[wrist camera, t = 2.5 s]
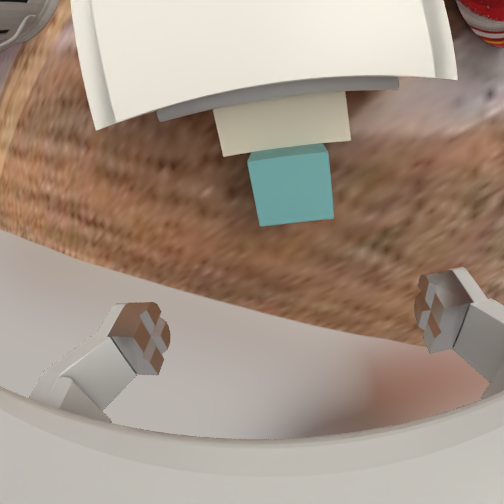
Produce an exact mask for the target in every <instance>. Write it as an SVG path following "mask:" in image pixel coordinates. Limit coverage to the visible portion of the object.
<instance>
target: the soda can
mask: <svg viewBox="0 0 504 504" xmlns="http://www.w3.org/2000/svg"><path fill="white" fill-rule="evenodd" d="M456 3H457V5H458V8H459V10H460V12H461V14H462V16H463V18H464V19H465V21H466V22H467V24H468V25H469V26H470V28H471V29H472V30H473V31H474V32H475V33H476V34H477V35H478V36H479V37H480V38H481V39H483V40H484V41H485V42H487V43H489V44H491V45H493V46H496V47H501V48H504V0H456Z"/></svg>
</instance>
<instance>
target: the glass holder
mask: <svg viewBox="0 0 504 504" xmlns="http://www.w3.org/2000/svg"><path fill="white" fill-rule="evenodd" d="M59 1H60V0H0V40H7V41H5V42H3V43H1V44H0V53H1V52H3V51H5V50H6V49H8V48H9V47H11V46H12V45H13V44H14V43H23V42H26V41H28V40H30V39H31V38H33V37H34V36H35V35H36V34H38V33H39V32H40V31H41V30H42V29H43V27H44V26H45V25H46V24H47V22H48V21H49V20H50V18H51V17H52V15H53V13H54V11H55V10H56V8H57V6H58V4H59Z"/></svg>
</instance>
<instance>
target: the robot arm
mask: <svg viewBox="0 0 504 504" xmlns="http://www.w3.org/2000/svg"><path fill="white" fill-rule="evenodd" d="M418 287H419V289H420V291H421V292H420V293H419V294H418V295H417V296H416V299H415V305H414V310H415V318H416V321H417V324H418V326H419V327H420V328H421V329H423V330H424V331H425V332H424V336H423V338H424V341H425V343H426V346H427V348H428V351H429V353H434V352H439V351H444V350H448V349H453V350H454V351H455V352H456V353H457V354H458V355H460V356H461V357H462V358H463V359H464V360H465V361H466V362H467V363H469V364H470V365H471V366H472V367H473V368H474V369H475V370H476V371H477V372H479V373H480V374H481V375H482V376H483V377H484V378H485V379H486V380H487V381H488V382H490V384H489V386H488V387H487V389H486V391H485V392H484V393H483V395H482V397H481V400H479V401H476V402H474V403H471V404H468V405H465V406H462V407H459V408H456V409H453V410H450V411H447V412H443V413H440V414H437V415H433V416H430V417H426V418H422V419H418V420H414V421H410V422H406V423H401V424H397V425H393V426H387V427H382V428H377V429H371V430H365V431H359V432H352V433H345V434H337V435H328V436H318V437H307V438H306V437H305V438H291V439H290V438H289V439H225V438H209V437H196V436H186V435H177V434H169V433H162V432H155V431H149V430H143V429H137V428H132V427H126V426H121V425H117V424H112V421H111V419H110V418H109V417H108V416H107V415H106V414H105V413H104V412H103V410H104V409H105V408H106V407H107V406H108V405H109V404H110V403H111V402H112V401H113V400H114V399H115V398H116V396H117V395H118V394H119V393H120V392H121V391H122V390H123V389H124V388H125V387H126V386H127V385H128V384H129V383H130V382H131V381H132V380H133V379H134V378H135V377H136V376H137V375H136V374H142V375H159V372H160V369H161V366H162V364H163V361H164V358H163V356H162V353H163V352H165V351H166V350H167V349H168V347H169V343H170V330H169V327H168V325H167V323H166V321H164V320H163V319H162V318H161V317H160V313H161V310H160V309H159V307H158V305H157V304H156V303H154V302H146V303H117V304H115V305H113V306H112V308H111V310H110V311H109V313H108V314H107V316H106V318H105V320H104V321H103V323H102V324H101V326H100V328H99V329H98V331H97V333H96V335H95V336H91V337H89V338H88V339H87V340H85V341H84V342H82V343H81V344H80V345H78V346H77V347H76V348H74V349H73V350H72V351H70V352H69V353H67V354H66V355H65V356H63V357H62V358H61V359H60V360H58V361H57V362H55V363H54V364H53V365H51V366H50V367H49V368H47V369H46V370H45V371H43V373H42V375H41V377H40V379H39V380H38V382H37V384H36V386H35V388H34V389H33V391H32V393H31V395H30V397H29V398H26V397H24V396H22V395H19V394H17V393H14V392H12V391H10V390H7V389H5V388H2V387H1V386H0V504H504V305H502V304H500V303H498V302H497V301H495V300H493V299H487V298H486V296H485V295H484V293H483V292H482V291H481V289H480V288H479V286H478V285H477V283H476V282H475V281H474V279H473V278H472V277H471V275H470V274H469V273H468V271H467V270H466V269H465V268H463V267H459V268H454V269H449V270H446V271H440V272H434V273H428V274H422V275H421V276H420V278H419V283H418Z"/></svg>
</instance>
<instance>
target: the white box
mask: <svg viewBox="0 0 504 504" xmlns="http://www.w3.org/2000/svg"><path fill="white" fill-rule="evenodd" d="M71 9H72V17H73V25H74V32H75V38H76V44H77V50H78V55H79V61H80V66H81V71H82V76H83V80H84V85H85V89H86V94H87V98H88V102H89V106H90V110H91V114H92V118H93V121H94V125H95V129H96V131H97V130H99V129H102V128H105V127H108V126H110V125H113V124H116V123H119V122H122V121H125V120H128V119H131V118H134V117H138V116H141V115H144V114H148V113H151V112H154V111H156V112H157V117H158V119H159V121H160V122H164V121H168V120H172V119H175V118H179V117H183V116H187V115H191V114H195V113H199V112H203V111H207V110H212V109H216V108H221V107H226V106H231V105H236V104H241V103H247V102H253V101H259V100H265V99H272V98H279V97H286V96H294V95H303V94H313V93H325V92H339V91H360V90H398V87H399V81H398V77H410V78H435V79H449V80H458V76H457V68H456V60H455V53H454V47H453V41H452V36H451V31H450V26H449V21H448V17H447V12H446V8H445V4H444V1H443V0H71Z"/></svg>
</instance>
